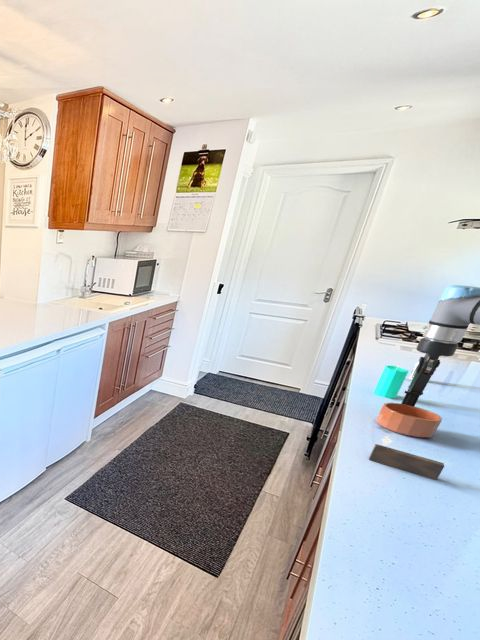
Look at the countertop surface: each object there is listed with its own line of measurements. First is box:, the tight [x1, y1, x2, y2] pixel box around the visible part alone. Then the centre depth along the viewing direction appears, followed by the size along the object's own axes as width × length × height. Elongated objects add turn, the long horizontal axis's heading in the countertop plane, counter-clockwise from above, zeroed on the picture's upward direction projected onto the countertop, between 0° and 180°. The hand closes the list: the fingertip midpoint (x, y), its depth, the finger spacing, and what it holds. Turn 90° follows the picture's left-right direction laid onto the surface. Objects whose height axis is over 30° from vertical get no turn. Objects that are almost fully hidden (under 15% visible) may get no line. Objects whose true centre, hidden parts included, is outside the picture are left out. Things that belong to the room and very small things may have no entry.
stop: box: [368, 443, 445, 481], centre depth 99 cm, size 12×2×4 cm, turn 45°
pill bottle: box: [408, 360, 419, 380], centre depth 163 cm, size 5×5×8 cm
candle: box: [373, 364, 409, 399], centre depth 145 cm, size 6×6×12 cm
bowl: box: [375, 402, 443, 438], centre depth 120 cm, size 12×12×6 cm
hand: (403, 413), depth 125 cm, fingers closed
